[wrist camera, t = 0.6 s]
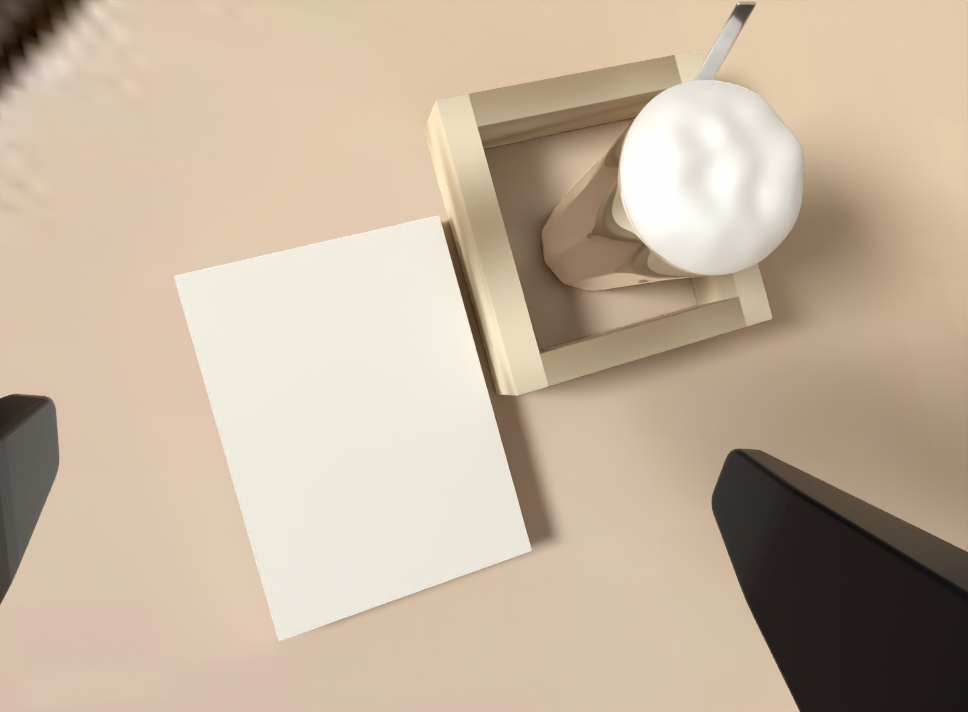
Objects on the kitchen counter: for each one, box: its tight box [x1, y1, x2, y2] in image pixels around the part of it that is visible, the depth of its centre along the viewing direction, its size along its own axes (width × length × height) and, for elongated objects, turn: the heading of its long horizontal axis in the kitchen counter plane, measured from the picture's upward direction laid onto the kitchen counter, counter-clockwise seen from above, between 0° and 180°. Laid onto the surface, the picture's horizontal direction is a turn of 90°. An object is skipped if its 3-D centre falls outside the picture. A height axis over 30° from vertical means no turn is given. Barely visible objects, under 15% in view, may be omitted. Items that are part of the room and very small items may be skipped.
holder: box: [424, 50, 773, 396], centre depth 23 cm, size 9×9×2 cm
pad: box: [174, 215, 532, 641], centre depth 22 cm, size 11×8×1 cm
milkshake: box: [541, 2, 804, 291], centre depth 19 cm, size 5×5×10 cm
